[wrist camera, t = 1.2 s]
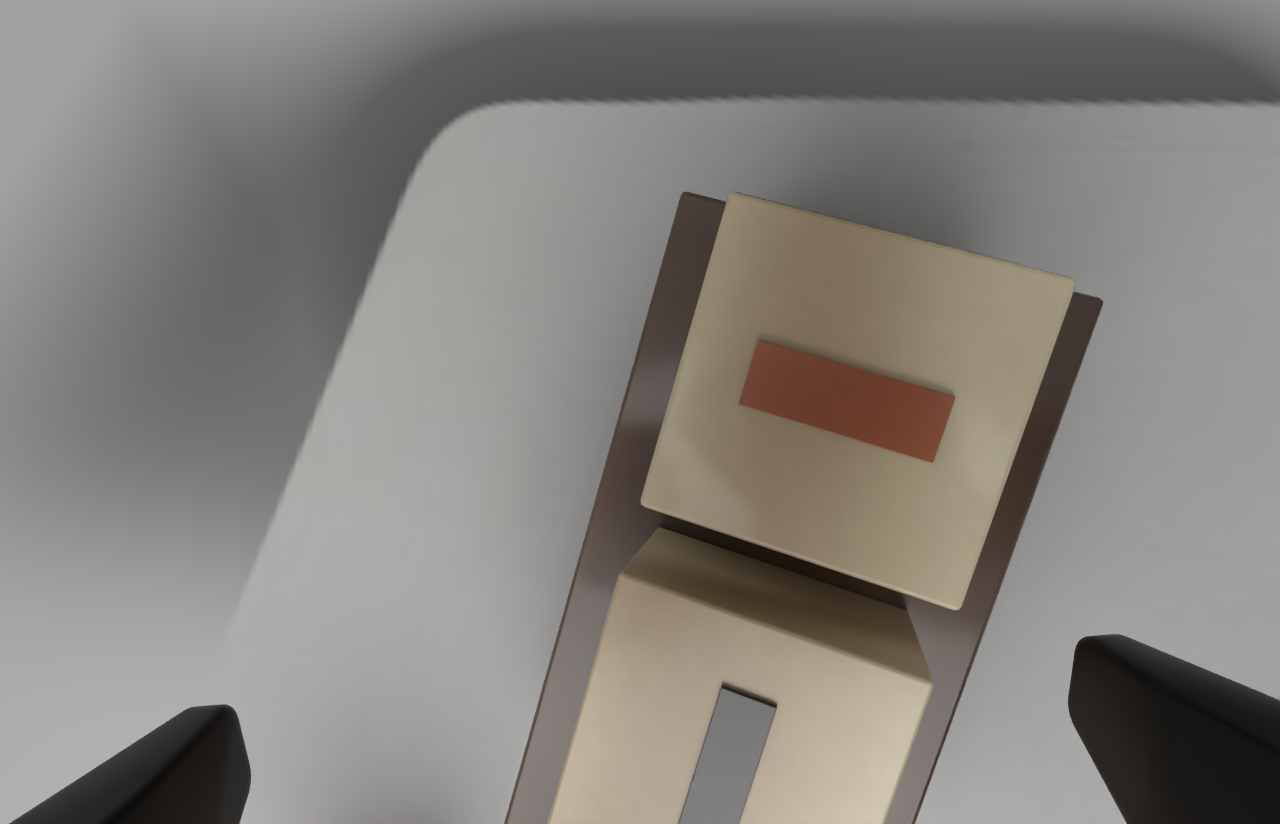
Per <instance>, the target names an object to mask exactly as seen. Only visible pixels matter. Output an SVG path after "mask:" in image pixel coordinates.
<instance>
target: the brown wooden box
mask: <svg viewBox="0 0 1280 824" xmlns="http://www.w3.org/2000/svg"><path fill="white" fill-rule="evenodd" d="M725 206H726V202H725V201H721V200H717V199H713V198H709V197H705V196H701V195H698V194H694V193H690V192H683V193H682V194H681V196H680V200H679V203H678V207H677V210H676V214H675V217H674V221H673V225H672V228H671V232H670V235H669V239H668V242H667V246H666V250H665V253H664V257H663V260H662V264H661V267H660V271H659V274H658V278H657V282H656V285H655V289H654V292H653V296H652V299H651V303H650V306H649V310H648V314H647V317H646V321H645V324H644V328H643V331H642V335H641V339H640V342H639V346H638V349H637V353H636V356H635V360H634V363H633V367H632V371H631V374H630V378H629V381H628V385H627V388H626V392H625V396H624V399H623V403H622V406H621V410H620V413H619V417H618V420H617V424H616V428H615V431H614V435H613V438H612V442H611V445H610V449H609V453H608V456H607V460H606V463H605V467H604V470H603V474H602V477H601V481H600V485H599V488H598V492H597V495H596V499H595V502H594V506H593V510H592V513H591V517H590V520H589V524H588V527H587V531H586V534H585V538H584V542H583V545H582V549H581V552H580V556H579V559H578V563H577V567H576V570H575V574H574V577H573V581H572V584H571V588H570V591H569V595H568V599H567V602H566V606H565V609H564V613H563V616H562V620H561V624H560V627H559V631H558V634H557V638H556V641H555V645H554V648H553V652H552V656H551V659H550V663H549V666H548V670H547V673H546V677H545V680H544V684H543V688H542V691H541V695H540V698H539V702H538V705H537V709H536V713H535V716H534V720H533V723H532V727H531V730H530V734H529V737H528V741H527V745H526V748H525V752H524V755H523V759H522V762H521V766H520V770H519V773H518V777H517V780H516V784H515V787H514V791H513V794H512V798H511V802H510V805H509V809H508V812H507V816H506V819H505V823H504V824H915V822H916V819H917V816H918V814H919V811H920V808H921V805H922V803H923V800H924V797H925V794H926V792H927V789H928V786H929V783H930V780H931V778H932V775H933V772H934V769H935V767H936V764H937V761H938V758H939V756H940V753H941V750H942V747H943V745H944V742H945V739H946V736H947V734H948V731H949V728H950V725H951V722H952V720H953V717H954V714H955V711H956V709H957V706H958V703H959V700H960V698H961V695H962V692H963V689H964V687H965V684H966V681H967V678H968V676H969V673H970V670H971V667H972V664H973V662H974V659H975V656H976V653H977V651H978V648H979V645H980V642H981V640H982V637H983V634H984V631H985V629H986V626H987V623H988V620H989V618H990V615H991V612H992V609H993V606H994V604H995V601H996V598H997V595H998V593H999V590H1000V587H1001V584H1002V582H1003V579H1004V576H1005V573H1006V571H1007V568H1008V565H1009V562H1010V560H1011V557H1012V554H1013V551H1014V548H1015V546H1016V543H1017V540H1018V537H1019V535H1020V532H1021V529H1022V526H1023V524H1024V521H1025V518H1026V515H1027V513H1028V510H1029V507H1030V504H1031V502H1032V499H1033V496H1034V493H1035V490H1036V488H1037V485H1038V482H1039V479H1040V477H1041V474H1042V471H1043V468H1044V466H1045V463H1046V460H1047V457H1048V455H1049V452H1050V449H1051V446H1052V444H1053V441H1054V438H1055V435H1056V432H1057V430H1058V427H1059V424H1060V421H1061V419H1062V416H1063V413H1064V410H1065V408H1066V405H1067V402H1068V399H1069V397H1070V394H1071V391H1072V388H1073V386H1074V383H1075V380H1076V377H1077V374H1078V372H1079V369H1080V366H1081V363H1082V361H1083V358H1084V355H1085V352H1086V350H1087V347H1088V344H1089V341H1090V339H1091V336H1092V333H1093V330H1094V328H1095V325H1096V322H1097V319H1098V316H1099V314H1100V311H1101V308H1102V305H1103V300H1101V299H1100V298H1097V297H1093V296H1089V295H1085V294H1082V293H1078V292H1073V295H1072V297H1071V300H1070V303H1069V306H1068V309H1067V312H1066V314H1065V317H1064V320H1063V323H1062V326H1061V328H1060V331H1059V334H1058V337H1057V340H1056V342H1055V345H1054V348H1053V351H1052V354H1051V356H1050V359H1049V362H1048V365H1047V368H1046V371H1045V373H1044V376H1043V379H1042V382H1041V385H1040V387H1039V390H1038V393H1037V396H1036V399H1035V401H1034V404H1033V407H1032V410H1031V413H1030V415H1029V418H1028V421H1027V424H1026V427H1025V429H1024V432H1023V435H1022V438H1021V441H1020V444H1019V446H1018V449H1017V452H1016V455H1015V458H1014V460H1013V463H1012V466H1011V469H1010V472H1009V474H1008V477H1007V480H1006V483H1005V486H1004V488H1003V491H1002V494H1001V497H1000V500H999V503H998V505H997V508H996V511H995V514H994V517H993V519H992V522H991V525H990V528H989V531H988V533H987V536H986V539H985V542H984V545H983V547H982V550H981V553H980V556H979V559H978V562H977V564H976V567H975V570H974V573H973V576H972V578H971V581H970V584H969V587H968V590H967V592H966V595H965V598H964V601H963V604H962V606H961V608H960V609H959V610H951V609H948V608H945V607H942V606H939V605H936V604H933V603H930V602H927V601H924V600H921V599H918V598H915V597H912V596H909V595H906V594H903V593H900V592H897V591H894V590H891V589H888V588H886V587H883V586H880V585H877V584H874V583H871V582H868V581H865V580H862V579H859V578H856V577H853V576H850V575H847V574H844V573H841V572H838V571H835V570H832V569H829V568H826V567H823V566H820V565H817V564H814V563H811V562H808V561H805V560H802V559H799V558H796V557H793V556H790V555H787V554H784V553H781V552H778V551H775V550H772V549H769V548H766V547H763V546H760V545H757V544H754V543H751V542H748V541H745V540H742V539H739V538H736V537H733V536H730V535H727V534H724V533H721V532H718V531H715V530H712V529H709V528H706V527H703V526H700V525H697V524H694V523H691V522H688V521H685V520H682V519H679V518H676V517H673V516H670V515H667V514H664V513H661V512H658V511H655V510H652V509H649V508H646V507H644V506H643V505H641V496H642V493H643V489H644V486H645V482H646V479H647V475H648V472H649V469H650V465H651V462H652V458H653V455H654V451H655V448H656V444H657V441H658V437H659V434H660V431H661V427H662V424H663V420H664V417H665V413H666V410H667V406H668V403H669V399H670V396H671V392H672V389H673V386H674V382H675V379H676V375H677V372H678V368H679V365H680V361H681V358H682V354H683V351H684V348H685V344H686V341H687V337H688V334H689V330H690V327H691V323H692V320H693V316H694V313H695V309H696V306H697V303H698V299H699V296H700V292H701V289H702V285H703V282H704V278H705V275H706V271H707V268H708V265H709V261H710V258H711V254H712V251H713V247H714V244H715V240H716V237H717V233H718V230H719V226H720V223H721V220H722V216H723V213H724V209H725Z"/></svg>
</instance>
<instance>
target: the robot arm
mask: <svg viewBox="0 0 1280 824" xmlns="http://www.w3.org/2000/svg"><path fill="white" fill-rule="evenodd" d="M1068 707H1069V713H1070V717H1071V719H1072V722H1073V724H1074V727H1075V728H1076V730H1077V732H1078V734H1079V736H1080V738H1081V740H1082V741H1083V743H1084V745H1085V747H1086V749H1087V751H1088V753H1089V754H1090V756H1091V758H1092V760H1093V762H1094V764H1095V766H1096V767H1097V769H1098V771H1099V773H1100V775H1101V777H1102V779H1103V780H1104V782H1105V784H1106V786H1107V788H1108V790H1109V791H1110V793H1111V795H1112V797H1113V799H1114V801H1115V803H1116V804H1117V806H1118V808H1119V810H1120V812H1121V814H1122V816H1123V817H1124V819H1125V821H1126V823H1127V824H1280V700H1278V699H1276V698H1273V697H1271V696H1268V695H1266V694H1263V693H1261V692H1259V691H1256V690H1254V689H1251V688H1249V687H1247V686H1244V685H1242V684H1239V683H1237V682H1234V681H1232V680H1230V679H1227V678H1225V677H1222V676H1220V675H1218V674H1215V673H1213V672H1210V671H1208V670H1206V669H1203V668H1201V667H1198V666H1196V665H1193V664H1191V663H1189V662H1186V661H1184V660H1181V659H1179V658H1177V657H1174V656H1172V655H1169V654H1167V653H1164V652H1162V651H1160V650H1157V649H1155V648H1152V647H1150V646H1148V645H1145V644H1143V643H1140V642H1138V641H1135V640H1133V639H1131V638H1128V637H1126V636H1123V635H1118V634H1112V635H1099V636H1087V637H1084V638H1082V639H1081V640H1080V641H1079V642H1078V644H1077V645H1076V649H1075V654H1074V661H1073V668H1072V675H1071V682H1070V689H1069V696H1068ZM250 784H251V769H250V764H249V760H248V756H247V751H246V747H245V743H244V739H243V735H242V731H241V727H240V723H239V719H238V716H237V713H236V712H235V710H234V709H233V708H232V707H231V706H229V705H226V704H223V705H210V706H197V707H191V708H188V709H186V710H184V711H183V712H181V713H180V714H178V715H177V716H175V717H174V718H172V719H170V720H169V721H167V722H166V723H164V724H163V725H161V726H160V727H158V728H156V729H155V730H153V731H152V732H150V733H149V734H147V735H146V736H144V737H143V738H141V739H139V740H138V741H136V742H135V743H133V744H132V745H131V746H129V747H127V748H126V749H124V750H122V751H121V752H119V753H118V754H116V755H115V756H113V757H112V758H110V759H109V760H107V761H106V762H104V763H102V764H101V765H99V766H98V767H96V768H95V769H93V770H92V771H90V772H88V773H87V774H85V775H84V776H82V777H81V778H79V779H78V780H76V781H75V782H73V783H71V784H70V785H68V786H67V787H65V788H64V789H62V790H61V791H59V792H58V793H56V794H54V795H53V796H51V797H50V798H48V799H47V800H45V801H44V802H42V803H40V804H39V805H37V806H36V807H34V808H33V809H31V810H30V811H28V812H27V813H25V814H24V815H22V816H21V817H19V818H17V819H16V820H14V821H13V822H11V823H10V824H239V823H240V820H241V816H242V813H243V810H244V807H245V804H246V800H247V797H248V794H249V790H250Z"/></svg>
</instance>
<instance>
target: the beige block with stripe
mask: <svg viewBox="0 0 1280 824" xmlns="http://www.w3.org/2000/svg"><path fill="white" fill-rule="evenodd" d="M1075 286H1076V283H1075V280H1074V279H1072V278H1071V277H1067V276H1063V275H1059V274H1055V273H1051V272H1047V271H1043V270H1039V269H1036V268H1032V267H1028V266H1024V265H1020V264H1016V263H1012V262H1008V261H1004V260H1000V259H996V258H992V257H988V256H985V255H981V254H977V253H973V252H969V251H965V250H961V249H957V248H953V247H949V246H945V245H941V244H937V243H934V242H930V241H926V240H922V239H918V238H914V237H910V236H906V235H902V234H898V233H894V232H890V231H886V230H883V229H879V228H875V227H871V226H867V225H863V224H859V223H855V222H851V221H847V220H843V219H839V218H836V217H832V216H828V215H824V214H820V213H816V212H812V211H808V210H804V209H800V208H796V207H792V206H788V205H785V204H781V203H777V202H773V201H769V200H765V199H761V198H757V197H753V196H749V195H745V194H741V193H737V192H733V193H731V194H730V195H729V196H728V199H727V202H726V206H725V209H724V213H723V216H722V220H721V223H720V226H719V230H718V233H717V237H716V240H715V244H714V247H713V251H712V254H711V258H710V261H709V265H708V268H707V271H706V275H705V278H704V282H703V285H702V289H701V292H700V296H699V299H698V303H697V306H696V309H695V313H694V316H693V320H692V323H691V327H690V330H689V334H688V337H687V341H686V344H685V348H684V351H683V354H682V358H681V361H680V365H679V368H678V372H677V375H676V379H675V382H674V386H673V389H672V392H671V396H670V399H669V403H668V406H667V410H666V413H665V417H664V420H663V424H662V427H661V431H660V434H659V437H658V441H657V444H656V448H655V451H654V455H653V458H652V462H651V465H650V469H649V472H648V475H647V479H646V482H645V486H644V489H643V493H642V496H641V505H643V506H644V507H646V508H649V509H652V510H655V511H658V512H661V513H664V514H667V515H670V516H673V517H676V518H679V519H682V520H685V521H688V522H691V523H694V524H697V525H700V526H703V527H706V528H709V529H712V530H715V531H718V532H721V533H724V534H727V535H730V536H733V537H736V538H739V539H742V540H745V541H748V542H751V543H754V544H757V545H760V546H763V547H766V548H769V549H772V550H775V551H778V552H781V553H784V554H787V555H790V556H793V557H796V558H799V559H802V560H805V561H808V562H811V563H814V564H817V565H820V566H823V567H826V568H829V569H832V570H835V571H838V572H841V573H844V574H847V575H850V576H853V577H856V578H859V579H862V580H865V581H868V582H871V583H874V584H877V585H880V586H883V587H886V588H888V589H891V590H894V591H897V592H900V593H903V594H906V595H909V596H912V597H915V598H918V599H921V600H924V601H927V602H930V603H933V604H936V605H939V606H942V607H945V608H948V609H951V610H959V609H960V608H961V606H962V604H963V601H964V598H965V595H966V592H967V590H968V587H969V584H970V581H971V578H972V576H973V573H974V570H975V567H976V564H977V562H978V559H979V556H980V553H981V550H982V547H983V545H984V542H985V539H986V536H987V533H988V531H989V528H990V525H991V522H992V519H993V517H994V514H995V511H996V508H997V505H998V503H999V500H1000V497H1001V494H1002V491H1003V488H1004V486H1005V483H1006V480H1007V477H1008V474H1009V472H1010V469H1011V466H1012V463H1013V460H1014V458H1015V455H1016V452H1017V449H1018V446H1019V444H1020V441H1021V438H1022V435H1023V432H1024V429H1025V427H1026V424H1027V421H1028V418H1029V415H1030V413H1031V410H1032V407H1033V404H1034V401H1035V399H1036V396H1037V393H1038V390H1039V387H1040V385H1041V382H1042V379H1043V376H1044V373H1045V371H1046V368H1047V365H1048V362H1049V359H1050V356H1051V354H1052V351H1053V348H1054V345H1055V342H1056V340H1057V337H1058V334H1059V331H1060V328H1061V326H1062V323H1063V320H1064V317H1065V314H1066V312H1067V309H1068V306H1069V303H1070V300H1071V297H1072V295H1073V292H1074V289H1075Z"/></svg>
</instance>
